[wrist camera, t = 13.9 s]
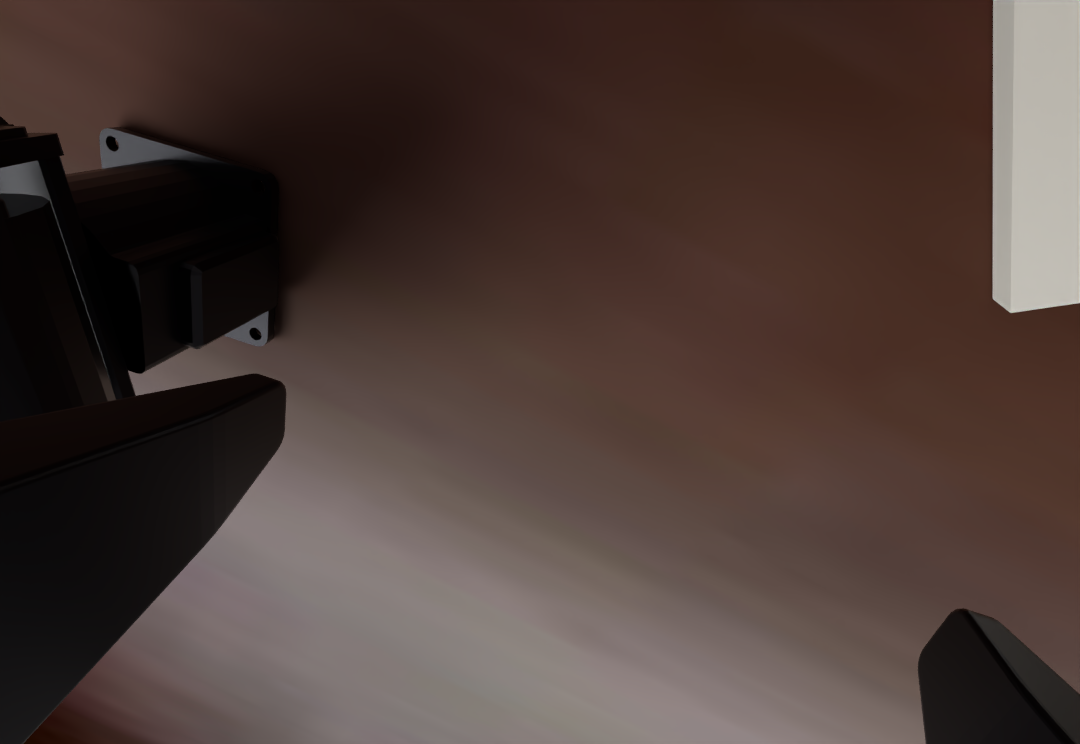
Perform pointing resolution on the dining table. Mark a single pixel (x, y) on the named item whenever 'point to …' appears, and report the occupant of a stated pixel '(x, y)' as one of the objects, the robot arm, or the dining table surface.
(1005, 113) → the post plate
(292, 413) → the dining table surface
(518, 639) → the dining table surface
